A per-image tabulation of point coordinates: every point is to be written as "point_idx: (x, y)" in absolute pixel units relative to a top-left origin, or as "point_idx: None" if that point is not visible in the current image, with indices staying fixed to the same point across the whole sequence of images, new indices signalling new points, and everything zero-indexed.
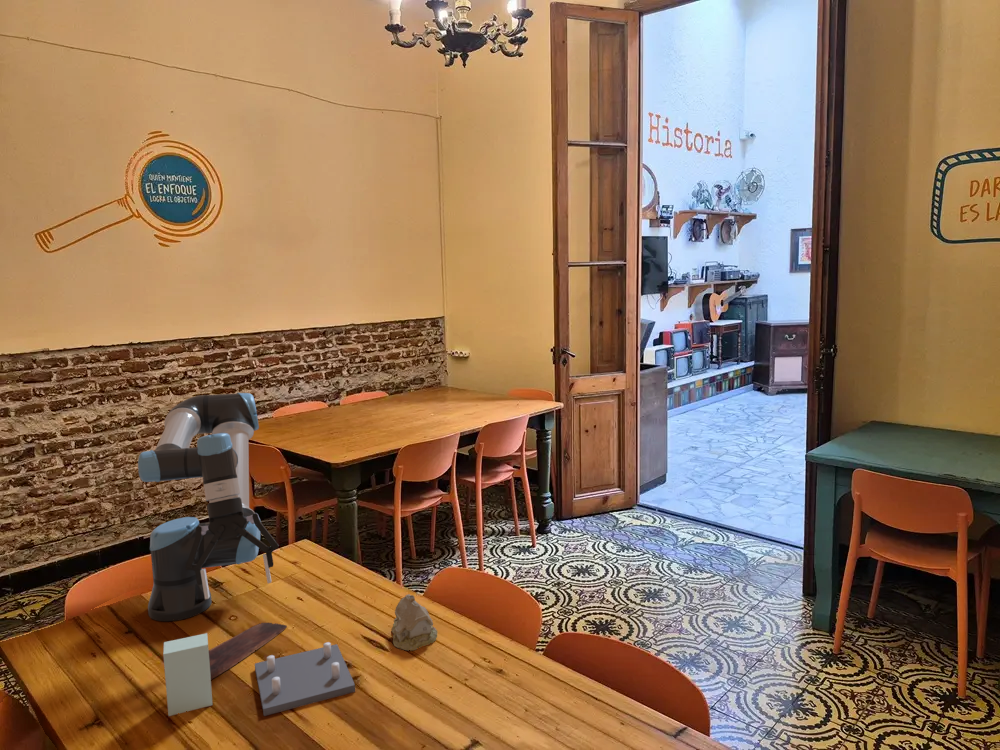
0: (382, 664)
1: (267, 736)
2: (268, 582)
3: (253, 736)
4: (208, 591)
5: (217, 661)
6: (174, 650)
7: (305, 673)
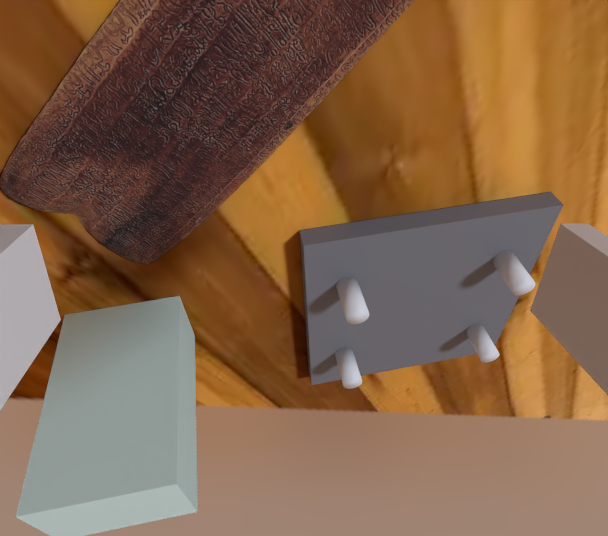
0: None
1: (310, 402)
2: (541, 312)
3: (287, 402)
4: (17, 291)
5: (162, 178)
6: (90, 530)
7: (422, 309)
